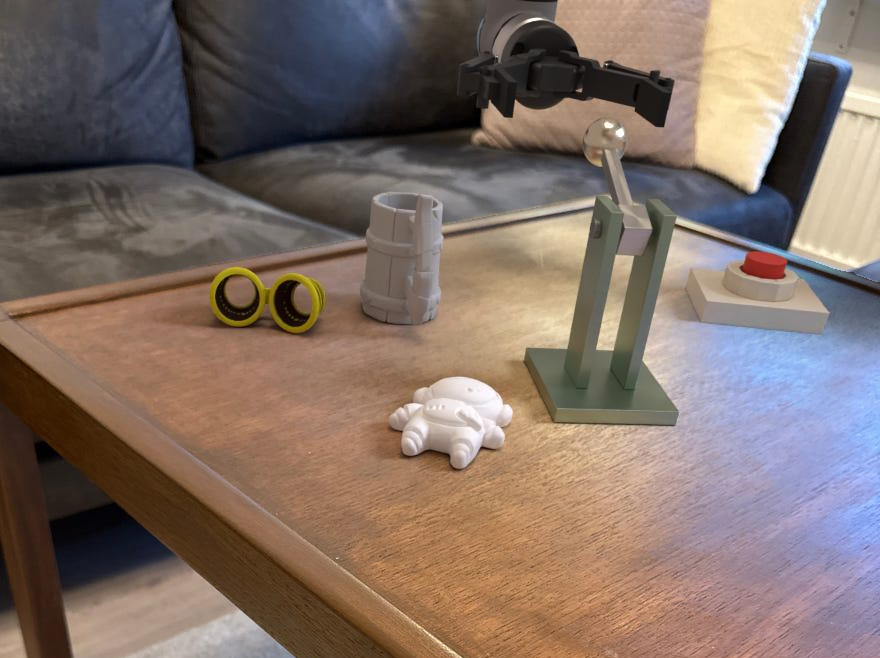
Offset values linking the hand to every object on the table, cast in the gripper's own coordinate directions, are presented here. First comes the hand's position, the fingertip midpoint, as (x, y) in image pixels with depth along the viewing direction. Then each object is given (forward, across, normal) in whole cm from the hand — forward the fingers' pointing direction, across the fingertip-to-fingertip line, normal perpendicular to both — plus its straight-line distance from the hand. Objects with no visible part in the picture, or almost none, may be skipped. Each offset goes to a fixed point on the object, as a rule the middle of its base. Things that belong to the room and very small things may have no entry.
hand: (588, 105), depth 84 cm
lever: (+11, 0, -5) cm, 12 cm away
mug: (+2, +15, -18) cm, 24 cm away
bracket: (+17, 0, -18) cm, 25 cm away
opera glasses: (+4, +27, -18) cm, 33 cm away
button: (-3, -22, -15) cm, 26 cm away
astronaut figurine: (+25, +14, -18) cm, 34 cm away
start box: (-3, -22, -18) cm, 29 cm away
